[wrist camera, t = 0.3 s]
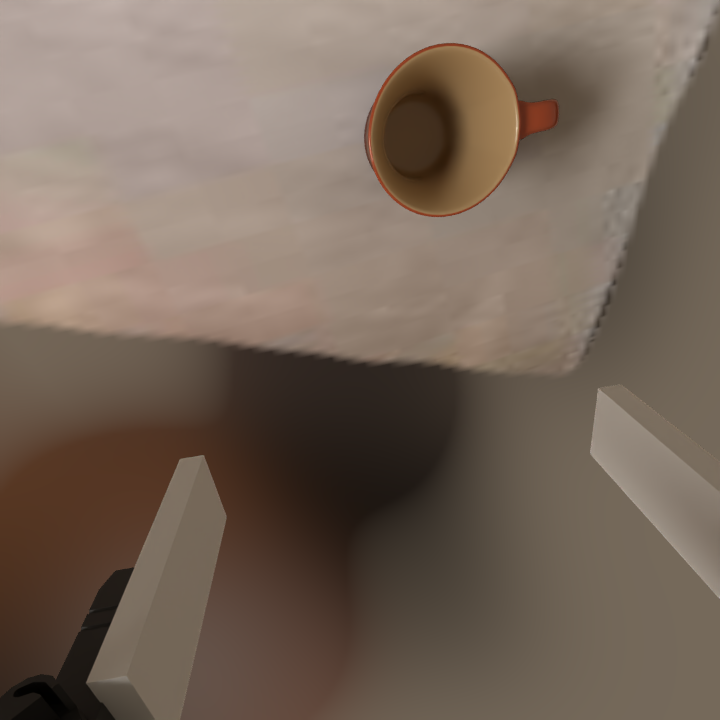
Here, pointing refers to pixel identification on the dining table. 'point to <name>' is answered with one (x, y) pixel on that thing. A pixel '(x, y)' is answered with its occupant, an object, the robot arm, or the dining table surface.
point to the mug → (448, 129)
